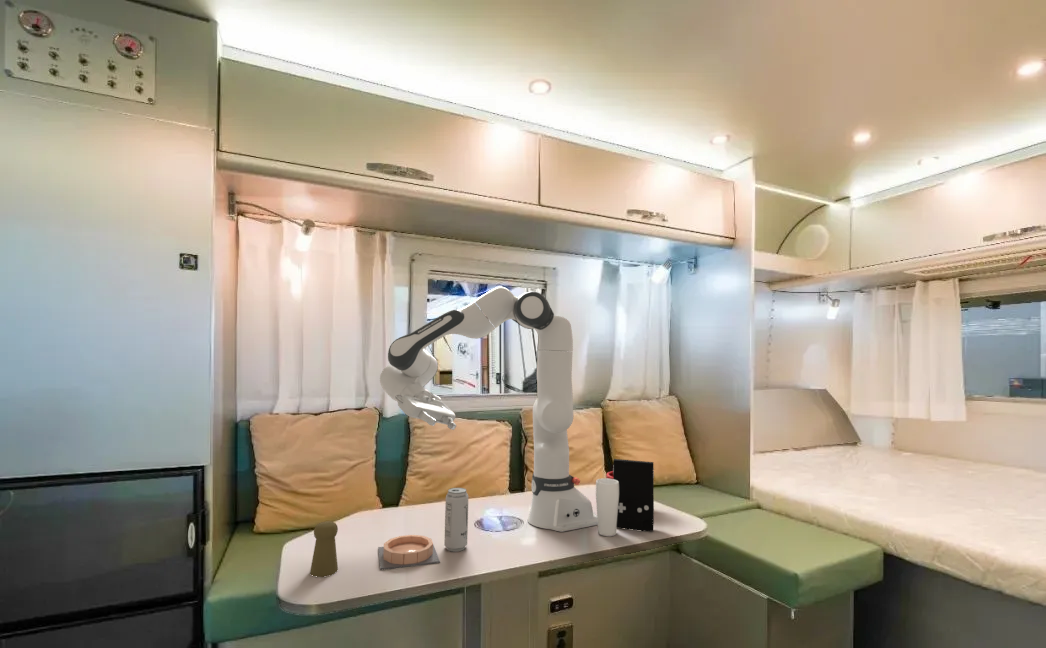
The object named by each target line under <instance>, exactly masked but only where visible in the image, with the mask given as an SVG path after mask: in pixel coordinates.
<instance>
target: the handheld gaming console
mask: <svg viewBox="0 0 1046 648" xmlns="http://www.w3.org/2000/svg"><path fill="white" fill-rule="evenodd" d="M612 467H613V468H612V471H613V479H614V480H617V481H619V504H618V515H617V528H619V529H622V528H625V529H624V530H629V529H633V530H632V531H637V530H641V531H640V532H654V519H655V517H654V516H655V513H654V511H655V509H654V507H655V505H654V504H655V503H654V502H655V500H654V494H655V493H654V492H655V491H654V489H655V487H654V483H655V482H654V477H655V472H654V470H655V469H654V468H655V467H654V462H653V461H644V460H643V461H641V460H633V459H632V460H631V459H630V460H629V459H621V458H620V459H618V458H614V459H613V465H612Z"/></svg>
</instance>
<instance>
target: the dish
mask: <svg viewBox="0 0 1046 648" xmlns="http://www.w3.org/2000/svg"><path fill="white" fill-rule="evenodd" d="M377 549H378V558H379V561H378V562H379V569H380V571H382V569H383V570H384V569H385V570H391V569H392V568H393V569H399V567H401V568H407V567H408V566H409V567H415V566H416V565H418V566H425V565H426V566H427V565H434V564H440V561H441V560H440V558H439V556H438V553H437V550H436V548H435V544H434V542H433V540H432V538H430V537H427V536H425V535H419V534H408V535H407V534H405V535H398V536H395V537H392V538H389V539H388V540H387V541H385V542H384V543H383V546H378V548H377ZM393 569H392V570H393Z"/></svg>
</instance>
